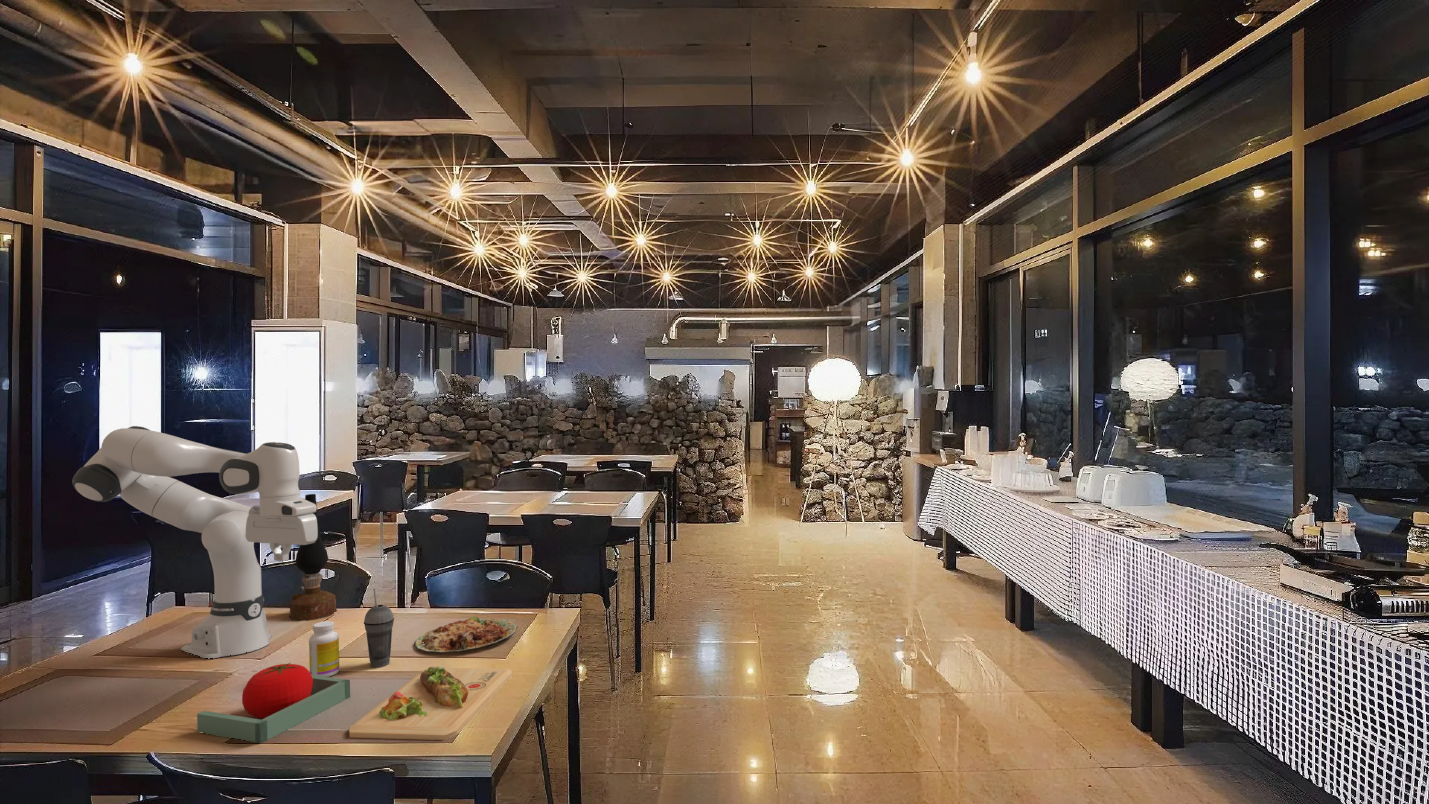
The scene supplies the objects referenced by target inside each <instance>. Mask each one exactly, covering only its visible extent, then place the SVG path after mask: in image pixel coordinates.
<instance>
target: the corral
mask: <svg viewBox="0 0 1429 804" xmlns="http://www.w3.org/2000/svg"><path fill="white" fill-rule="evenodd" d="M312 679H313V687H312V691H311V695H310V696H309V697H307V698H305V699H303V700H301V701H299V702H297V703H295V704H293V705H291V706H289V707H287V708H285V709H283V710H281V711H278V712H276V713H274V714H272V715H270V716H268V717H266V718H264V719H260V718H252V717H248V716H247V717H246V716H239V715H234V714H228V713H222V712H221V713H220V712H215V711H207V710H202V711H200V712H198V713H197V714H196V716H197V717H196V718H197V719H196V721H197V722H196V723H197V725H196V726H197V730H196V731H197V733H198V732H203V733H206V734H205V735H208V734H213V735H212V736H214V735H217V736H216V737H220V736H221V737H220V738H226V737H231V738H236V739H235V740H237V739H241V740H240V741H243V740H246V741H245V742H249V741H250V742H249V743H257V744H263V743H265V742H266V740H267V741H269V740H271V739H272V738H274V737H276V736H278V735H280V734H282V733H284V732H285V731H288V730H290V729H292V728H293V727H296V726H297V725H299V724H301V723H302V722H305V721H306V720H307V721H308V719H310V718H313V717H315V716H317V715H318V714H321V713H323V712H324V711H326V710H328V709H330V708H332V707H333V706H336V705H337V704H340V703H341V702H343V701H345V700H347V699H349V698H351V679H345V678H338V677H331V676H329V677H323V676H315V675H312ZM231 738H230V739H231Z"/></svg>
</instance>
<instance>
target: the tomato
mask: <svg viewBox="0 0 1429 804" xmlns="http://www.w3.org/2000/svg"><path fill="white" fill-rule="evenodd" d="M312 687H313V679H312V675H311V674H310V670H308V668H307V667H306V666H304V665H301V664H295V663H291V662H288V663H281V664H275V665H272V666H268V667H266V668H264V669H262V670H260V671H258V672H257V673H255V674H253V675H252V676H251V677H250V679H249V680H248V681H247V683H246V684H245V687H244V688H243V692H242V693H241V694H242V695H241V696H242V698H241V701H242V702H241V703H242V706H243V709H244V711H245V712H246V713H247V714H249V715H250V716H251V717H254V719H260V720H262V719H264V718H266V717H268V716H270V715H272V714H274V713H276V712H278V711H281V710H283V709H285V708H287V707H289V706H291V705H293V704H295V703H297V702H299V701H301V700H303V699H305V698H307V697H309V696H311V691H312Z"/></svg>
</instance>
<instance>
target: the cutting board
mask: <svg viewBox="0 0 1429 804" xmlns="http://www.w3.org/2000/svg"><path fill="white" fill-rule="evenodd" d="M512 677H513V671H512V670H511V668H486V667H485V668H483V667H445V666H438V665H437V666H429V667H428V668H426V669H423V670H421V671H420V672H419V673H417V674H416V675H415V676H413V677H412V678H411V679H410V680H408V681H407V682H406V683H405V684H403V685H402V686H401V687H399V688H398V689H397V690H395V691H394V692H393V693H391V694H390V695H389V696H388V697H386V698H385V699H384V700H383V701H381V702H380V703H378V704H377V705H376V706H374V708H372V709H371V710H370V711H368V712H367V713H366V714H365V715H363V716H362V717H360V718H359V719H358V720H356V721H355V722H354V723H353V724H351V725H350V726H349V738H357V739H358V738H359V739H389V740H390V739H392V740H394V739H395V740H430V741H431V740H432V741H446V740H449V739H452V738H453V737H456V736H458V735H459V734H460V733H461V732H462V730H464V728H465V727H466V726H468V725H469V723H470V722H471V721H472V720H473V719H474V718H475V717H474V716H477V715H478V713H480V711H482V710H483V708H484V707H485V706H486V705H487V704H488V703H489V702H490V701H491V700H492V699H493V698H494V697H495V696H496V695H497V693H498V692H500V690H501V689H502V688H503V687H504V686H505V685H506V684H507V683H508V682H509V681H510V680H509V679H512ZM508 680H509V681H508ZM506 682H507V683H506ZM504 684H505V685H504ZM457 734H458V735H457ZM448 738H449V739H448Z"/></svg>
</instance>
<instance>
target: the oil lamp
mask: <svg viewBox="0 0 1429 804" xmlns="http://www.w3.org/2000/svg"><path fill="white" fill-rule="evenodd" d="M304 499H305V500H307V501H309V502H311V503H314V504H315V505H316V512H313V514H314V515H315V516H316V519H317V529H318V536H317V539H316V541H315V542H314V543H311V544H307V545H299V548H298V549H297V552H296V556H295V560H294V561H295V562H294V563H295V566H296V568H298V570H300V571H301V572H303V573H304V575H303V576H302V577H301V580H302V583H303V584H304V586H303V585H301V586H300V587H299V592H302V593H294V594H292V595H291V597H292V598H291V600H290V601H289V616H288V619H289V618H290V619H289V620H291V619H292V620H291V621H295V620H306V621H313V620H318V619H319V618H320V619H323V618H324V619H325V618H327V617H329V616H332V614H333V615H334V614H335V613H334V612H338V609H337V607H336V606H337V604H336V603H337V601H336V599H337V598H336V595H335V594H334V593H331V592H330V591H329V592H328V591H327V590H321V587H322V586H321V582H322V579H323V577H324V575H323V574H322V573H320V572H321V571H322V570H323V569H324V568H325V567H326V565H327V564H328V562H329V555H328V551H327V548H326V547H325V545H324V543H323V540H322V539H323V538H322V536H321V534H320V528H319V521H318V519H319V518H318V506H317V494H316V493H310V494H309V493H307V494H305V497H304ZM303 591H304V592H303ZM320 619H319V620H320Z"/></svg>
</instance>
